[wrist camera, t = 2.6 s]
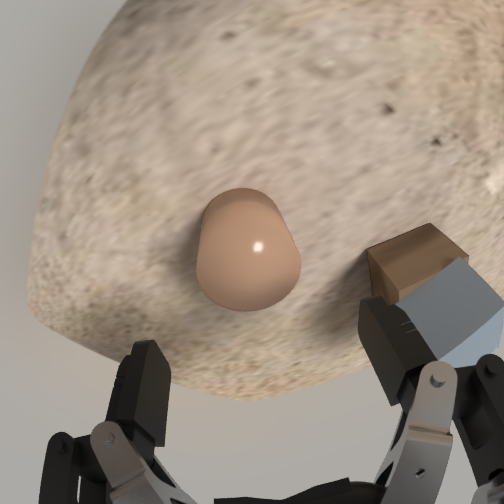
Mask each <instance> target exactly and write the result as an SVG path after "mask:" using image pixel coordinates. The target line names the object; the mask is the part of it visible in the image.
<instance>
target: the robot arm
mask: <svg viewBox="0 0 504 504" xmlns="http://www.w3.org/2000/svg"><path fill="white" fill-rule="evenodd" d="M358 333H359V338H360V341H361V343H362V345H363V347H364V349H365V351H366V353H367V355H368V357H369V359H370V361H371V364H372V366H373V368H374V370H375V372H376V374H377V376H378V378H379V381H380V383H381V385H382V387H383V389H384V391H385V393H386V396H387V398H388V400H389V403H390V405H391V406H393V405H396V404H399V403H400V404H401V406H402V409H403V410H402V412H401V416H400V419H399V422H398V425H397V428H396V431H395V434H394V437H393V440H392V442H391V445H390V448H389V450H388V453H387V455H386V457H385V459H384V461H383V463H382V465H381V467H380V469H379V471H378V473H377V476H376V478H375V480H374V482H373V483H369V482H358V481H356V482H355V481H354V482H350V481H349V478H348V477H347V478H344V479H340V480H337V481H334V482H329V483H325V484H321V485H317V486H314V487H312V488H310V489H308V490H305V491H303V492H301V493H298V494H296V495H294V496H291V497H289V498H286V499H283V500H272V499H260V498H252V497H238V498H220V499H214V504H434V503H435V500H436V498H437V495H438V492H439V489H440V486H441V483H442V480H443V477H444V474H445V471H446V467H447V464H448V460H449V456H450V452H451V448H452V443H453V436H452V434H450V425H451V420H453V421H454V423H455V426H456V428H457V430H458V433H459V435H460V438H461V440H462V443H463V445H464V448H465V451H466V453H467V456H468V459H469V462H470V464H471V467H472V470H473V473H474V476H475V479H476V483H477V485H478V489H477V490H476V492H475V494H474V496H473V499H472V502H471V504H504V361H503V360H502V359H501V358H500V357H498V356H497V355H494V354H485V355H483V356H482V357H480V358H479V360H478V361H477V363H476V365H472V366H466V367H459V368H453V367H452V366H451V365H450V364H448V363H446V362H443V361H439V360H438V359H437V358H436V357H435V355H434V354H433V352H432V351H431V349H430V348H429V346H428V344H427V343H426V341H425V340H424V338H423V337H422V335H421V334H420V332H419V331H418V330H417V328H416V327H415V325H414V324H413V322H411V319H410V318H409V316H408V315H407V314H406V312H405V311H404V310H403V309H401V308H400V307H398V306H397V305H395V304H392V305H389V306H388V305H387V303H386V302H385V300H384V299H383V297H382V296H381V295H375V296H372V297H368V298H364V299H361V301H360V310H359V321H358ZM116 377H117V378H116V379H115V382H114V387H113V390H112V394H111V398H110V402H109V407H108V411H107V415H106V419H105V421H104V422H102V423H100V424H98V425H97V426H96V427H95V428H94V429H93V431H92V433H91V434H90V435H86V436H81V437H77V438H72V437H71V436H70V435H68V434H67V433H65V432H58V433H56V434H55V435H53V436H52V437H51V439H50V440H49V442H48V446H47V451H46V456H45V461H44V467H43V473H42V480H41V486H40V494H39V504H197V503H196V502H195V501H194V500H193V499H192V498H191V497H190V496H189V495H188V494H186V493H185V492H184V491H183V490H182V489H181V488H180V487H179V486H178V484H177V483H176V482H175V481H174V479H173V478H172V477H171V476H170V474H169V473H168V472H167V470H166V469H165V468H164V466H163V465H162V464H161V462H160V461H159V460H158V459H157V457H156V456H155V454H154V448H155V447H164V446H165V434H166V421H167V411H168V400H169V392H170V383H171V370H170V366H169V363H168V362H167V360H166V358H165V357H164V355H163V353H162V352H161V350H160V348H159V347H158V345H157V343H156V342H155V341H154V340H145V341H136V342H135V343H134V344H133V348H132V351H131V355H126V356H125V358H124V359H123V361H122V362H121V363H120V365H119V368H118V371H117V375H116ZM79 476H81V484H80V495H79V503H78V501H77V490H78V480H79Z"/></svg>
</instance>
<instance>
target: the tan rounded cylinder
mask: <svg viewBox="0 0 504 504" xmlns="http://www.w3.org/2000/svg"><path fill="white" fill-rule="evenodd" d="M300 271H301V259H300V254H299V251H298V249H297V247H296V245H295V243H294V240H293V238H292V236H291V234H290V232H289V230H288V228H287V226H286V224H285V222H284V220H283V218H282V215H281V213H280V211H279V209H278V208H277V206H276V204H275V203H274V202H273V201H272V200H271V199H270V198H269V197H268V196H267V195H265V194H263V193H262V192H259V191H257V190H253V189H248V188H238V189H232V190H229V191H226V192H224V193H222V194H220V195H219V196H217V197H216V198H215V199H214V200H213V201H212V202H211V203H210V204H209V205H208V207H207V208H206V210H205V212H204V215H203V219H202V224H201V232H200V239H199V247H198V254H197V263H196V277H197V281H198V283H199V286H200V288H201V289H202V291H203V292H204V294H205V295H206V296H207V297H208V298H209V299H210V300H212V301H213V302H214V303H216V304H218V305H220V306H221V307H224V308H227V309H230V310H235V311H244V312H245V311H257V310H261V309H265V308H267V307H270V306H272V305H274V304H276V303H278V302H279V301H281V300H282V299H284V298H285V297H286V296H287V295H288V294H289V293H290V292H291V291H292V289H293V288H294V286H295V285H296V283H297V281H298V279H299V276H300Z"/></svg>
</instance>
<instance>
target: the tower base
mask: <svg viewBox="0 0 504 504" xmlns="http://www.w3.org/2000/svg"><path fill="white" fill-rule="evenodd" d="M367 255H368V262H369V269H370V276H371V285H372V293H373V296H375V295H381V296H382V297H383V299H384V300H385V302H386V303H387V305H388V306H389V305H392V304H396V303H398V302H399V301H401V300H402V299H403V298H405V297H406V296H408V295H409V294H411V293H412V292H413V291H415V290H416V289H418V288H419V287H420V286H422V285H423V284H424V283H426V282H427V281H428V280H430V279H431V278H432V277H434V276H435V275H436V274H438V273H439V272H440V271H441V270H443V269H444V268H445V267H447V266H448V265H449V264H450V263H452V262H453V261H454V260H455V259H456V258H458V257H459V256H460V257H461V258H462V259H463V260H464V261H465V262H466V263H467V264H468V260H469V255H468V254H467V253H465V252H464V251H463V250H462V249H461V248H460V247H459V246H457V245H456V244H455V243H454V242H453V241H452V240H450V239H449V238H448V237H447V236H446V235H445V234H443V233H442V232H441V231H440V230H438V229H437V228H436V227H435V226H434V225H432V224H431V223H428V224H426V225H424V226H422V227H419V228H417V229H415V230H412V231H410V232H407V233H405V234H403V235H400V236H398V237H395V238H393V239H391V240H388V241H386V242H383V243H381V244H378V245H376V246H374V247H371V248H369V249H367Z"/></svg>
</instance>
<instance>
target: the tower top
mask: <svg viewBox="0 0 504 504" xmlns="http://www.w3.org/2000/svg"><path fill="white" fill-rule="evenodd" d="M395 305H397V306H398V307H400V308H401V309H403V310H404V311H405V312H406V314H407V315H408V316H409V318H410V319H411V322H413V324H414V325H415V327H416V328H417V330H418V331H419V332H420V334H421V335H422V337H423V338H424V340H425V341H426V343H427V344H428V346H429V348H430V349H431V351H432V352H433V354H434V355H435V357H436V358H437V359H438V360H439V361H443V362H446V363H448V364H450V365H451V366H452V367H453V368H459V367H466V366H472V365H476V363H477V361H478V360H479V358H480V357H482V356H483V355H485V354H491V353H492V352H493V351H494V350H495V349H496V348H497V347H498V346H499V342H500V338H501V333H502V328H503V322H504V301H503V300H502V298H501V297H500V296H499V295H498V294H497V293H496V292H495V291H494V290H493V289H492V288H491V287H490V286H489V285H488V284H487V283H486V282H485V280H484V279H483V278H482V277H481V276H480V275H479V274H478V273H477V272H476V271H475V270H473V269H472V268H471V267H470V266H469V265H468V264H467V263H466V262H465V261H464V260H463V259H462V258H461V257H460V256H459V257H458V258H456V259H455V260H454V261H453V262H452V263H450V264H449V265H448V266H447V267H445V268H444V269H443V270H441V271H440V272H439V273H438V274H436V275H435V276H434V277H432V278H431V279H430V280H428V281H427V282H426V283H424V284H423V285H422V286H420V287H419V288H418V289H416V290H415V291H413V292H412V293H411V294H409V295H408V296H406V297H405V298H403V299H402V300H401V301H399V302H398V303H396V304H395Z"/></svg>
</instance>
